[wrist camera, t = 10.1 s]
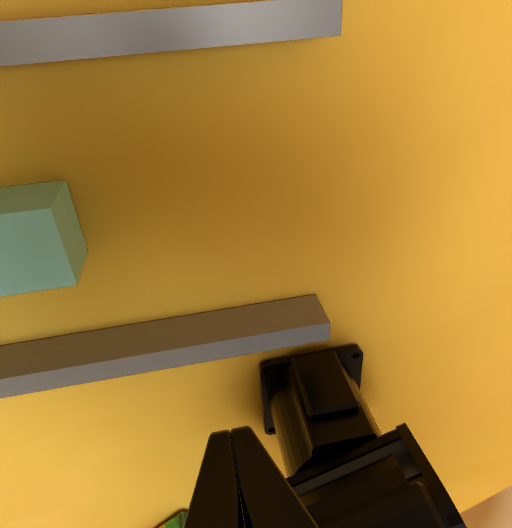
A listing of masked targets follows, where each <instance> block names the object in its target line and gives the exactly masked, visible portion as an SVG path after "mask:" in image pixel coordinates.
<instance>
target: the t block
mask: <svg viewBox="0 0 512 528" xmlns="http://www.w3.org/2000/svg"><path fill="white" fill-rule="evenodd" d="M87 252H88V249H87V245H86V242H85V239H84V236H83V233H82V230H81V226H80V223H79V220H78V217H77V214H76V211H75V207H74V204H73V201H72V198H71V195H70V191H69V188H68V185H67V182H66V180H59V181H50V182H42V183H33V184H25V185H16V186H8V187H0V297H2V296H8V295H15V294H22V293H29V292H35V291H42V290H49V289H56V288H63V287H69V286H76V285H77V284H78V281H79V278H80V274H81V271H82V268H83V265H84V261H85V258H86V255H87Z"/></svg>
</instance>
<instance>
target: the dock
mask: <svg viewBox="0 0 512 528" xmlns="http://www.w3.org/2000/svg"><path fill="white" fill-rule="evenodd" d="M341 24H342V0H258V1H245V2H233V3H220V4H207V5H194V6H182V7H169V8H156V9H143V10H131V11H118V12H105V13H92V14H80V15H67V16H54V17H41V18H29V19H16V20H3V21H0V66H11V65H22V64H33V63H44V62H55V61H66V60H77V59H88V58H100V57H111V56H122V55H133V54H144V53H155V52H166V51H177V50H188V49H199V48H210V47H221V46H232V45H243V44H254V43H265V42H277V41H288V40H299V39H310V38H321V37H332V36H341ZM326 340H330V321H329V319H328V317H327V315H326V313H325V311H324V309H323V307H322V305H321V303H320V302H319V300H318V298H317V296H316V294H314V295H308V296H302V297H296V298H290V299H283V300H277V301H271V302H265V303H259V304H253V305H247V306H241V307H235V308H228V309H222V310H216V311H210V312H204V313H198V314H192V315H186V316H180V317H173V318H167V319H161V320H155V321H149V322H143V323H137V324H131V325H124V326H118V327H112V328H106V329H100V330H94V331H88V332H82V333H76V334H69V335H63V336H57V337H51V338H45V339H39V340H33V341H27V342H21V343H14V344H8V345H2V346H0V398H5V397H10V396H16V395H22V394H27V393H33V392H39V391H44V390H50V389H56V388H61V387H67V386H73V385H78V384H84V383H89V382H95V381H101V380H106V379H112V378H118V377H123V376H129V375H135V374H140V373H146V372H151V371H157V370H163V369H168V368H174V367H180V366H185V365H191V364H197V363H202V362H208V361H214V360H219V359H225V358H230V357H236V356H242V355H247V354H253V353H259V352H264V351H270V350H276V349H281V348H287V347H292V346H298V345H304V344H309V343H315V342H321V341H326Z"/></svg>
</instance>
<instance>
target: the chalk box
mask: <svg viewBox="0 0 512 528" xmlns="http://www.w3.org/2000/svg"><path fill="white" fill-rule="evenodd" d="M186 516H187V513H185V512H180V513H179V514H178V515H176V516H175V517H173V518H172V519H171V520H169V521H167V522H166V523H164V524H163V525H161V526H160V527H159V528H183V527H184V523H185V520H186Z"/></svg>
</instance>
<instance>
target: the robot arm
mask: <svg viewBox="0 0 512 528" xmlns="http://www.w3.org/2000/svg"><path fill="white" fill-rule="evenodd" d="M354 353H355V354H354ZM362 361H363V352H362V350H361V348H360V347H359V346H357V345H353V346H347V347H342V348H336V349H330V350H325V351H319V352H314V353H308V354H303V355H297V356H292V357H286V358H280V359H275V360H269V361H265V362H263V363H261V364H260V365H259V379H260V390H261V402H262V414H263V425H264V430H265V433H266V434H269V435H273V434H277V438H278V442H279V446H280V450H281V454H282V458H283V462H284V466H285V469H286V473H287V478H285V477H284V476H283V474H282V473H281V471H280V470H279V468H278V467H277V465H276V464H275V462H274V461H273V460H272V458H271V457H270V455H269V454H268V452H267V451H266V449H265V448H264V446H263V445H262V443H261V442H260V440H259V439H258V437H257V436H256V434H255V433H254V431H253V430H252V429H251V427H249V426H243V427H238V428H233V429H232V430H231V434H230V431H229V430H222V431H217V432H213V433H211V434H210V436H209V439H208V442H207V446H206V449H205V453H204V456H203V460H202V463H201V467H200V471H199V474H198V478H197V481H196V485H195V488H194V492H193V495H192V499H191V502H190V506H189V509H188V513H187V516H186V520H185V523H184V527H183V528H467V527H466V525H465V523H464V522H463V520H462V518H461V516H460V514H459V512H458V510H457V509H456V507H455V505H454V503H453V501H452V500H451V498H450V496H449V494H448V493H447V491H446V489H445V487H444V486H443V484H442V482H441V481H440V479H439V477H438V476H437V474H436V472H435V471H434V469H433V468H432V466H431V464H430V463H429V461H428V459H427V458H426V456H425V454H424V453H423V451H422V450H421V448H420V446H419V445H418V443H417V441H416V440H415V438H414V436H413V435H412V433H411V432H410V430H409V428H408V427H407V425H406V423H403V424H401V425H399V426H396V429H394V430H392V431H390V432H388V433H385V434H383V435H382V434H381V432H380V430H379V428H378V426H377V424H376V422H375V420H374V418H373V416H372V414H371V412H370V410H369V408H368V406H367V404H366V402H365V400H364V398H363V396H362V394H361V392H360V382H361V372H362ZM266 369H268V370H266ZM231 439H232V441H231ZM232 446H233V447H232ZM233 452H234V454H233ZM234 459H235V460H234ZM235 465H236V467H235ZM236 472H237V473H236ZM237 478H238V480H237ZM238 485H239V486H238ZM239 491H240V493H239ZM240 498H241V499H240ZM241 504H242V506H241ZM242 511H243V513H242ZM243 517H244V519H243ZM244 524H245V526H244Z"/></svg>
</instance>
